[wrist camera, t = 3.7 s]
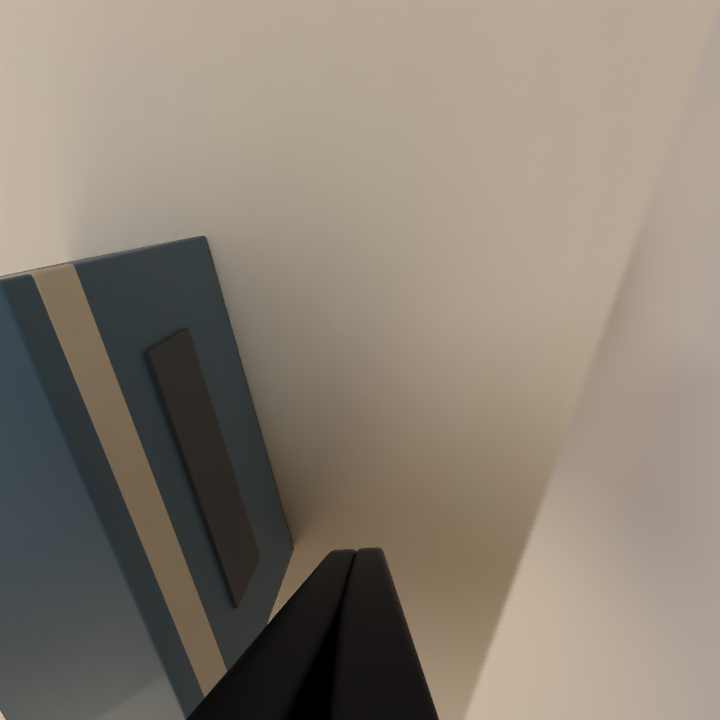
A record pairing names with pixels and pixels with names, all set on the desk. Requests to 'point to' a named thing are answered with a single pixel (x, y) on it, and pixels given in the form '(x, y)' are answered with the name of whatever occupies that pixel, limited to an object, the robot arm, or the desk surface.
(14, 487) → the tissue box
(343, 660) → the robot arm
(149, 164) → the desk surface
